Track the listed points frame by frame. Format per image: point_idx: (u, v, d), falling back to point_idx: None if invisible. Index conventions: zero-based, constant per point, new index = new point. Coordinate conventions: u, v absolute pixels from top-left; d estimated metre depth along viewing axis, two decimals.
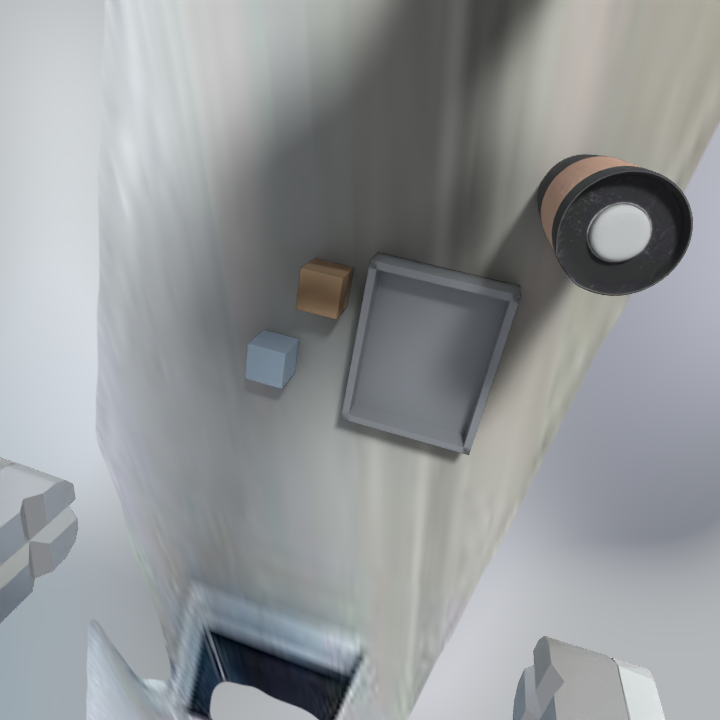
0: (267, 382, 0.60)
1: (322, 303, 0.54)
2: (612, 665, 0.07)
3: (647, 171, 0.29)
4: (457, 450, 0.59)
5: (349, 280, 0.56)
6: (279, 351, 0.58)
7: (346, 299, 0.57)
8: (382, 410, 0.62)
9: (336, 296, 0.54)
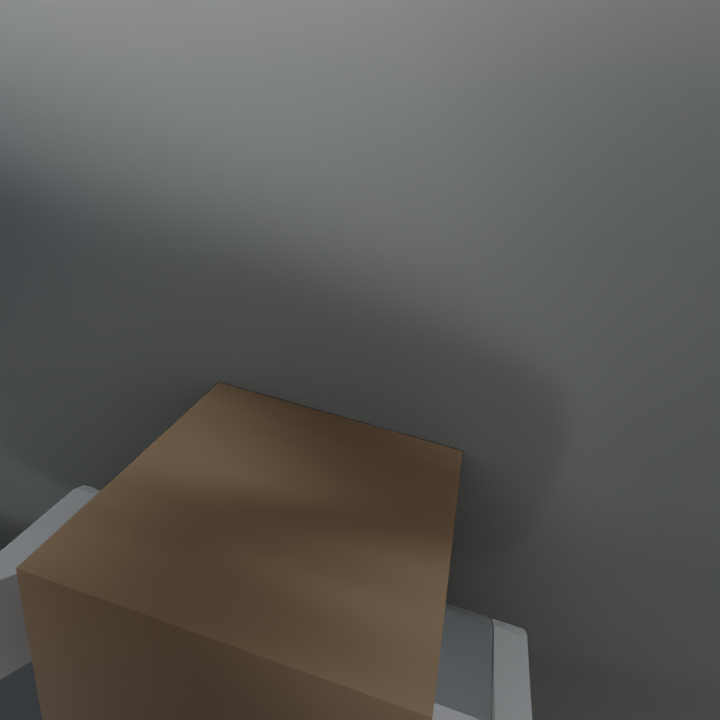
0: None
1: None
2: (488, 624, 0.08)
3: None
4: None
5: None
6: None
7: None
8: None
9: None
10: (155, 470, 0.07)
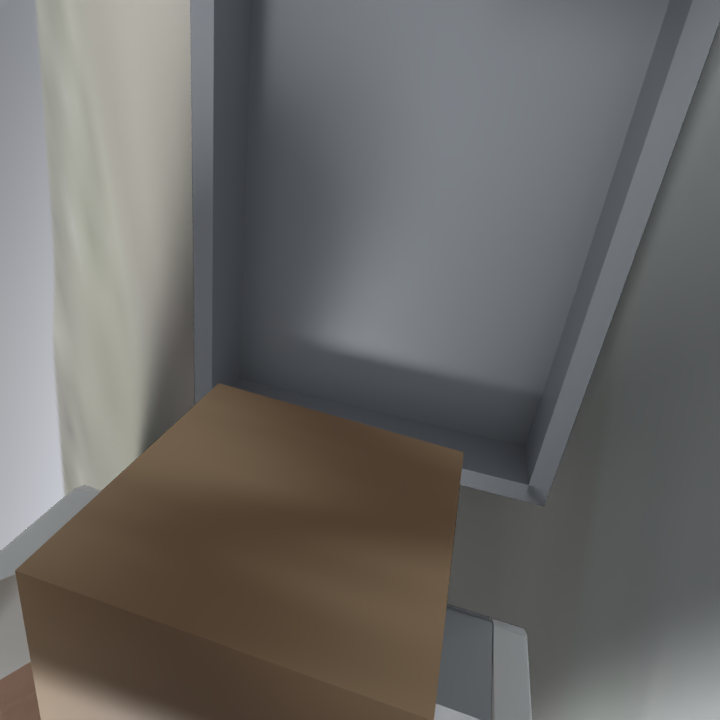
0: None
1: None
2: (488, 624, 0.08)
3: None
4: None
5: None
6: None
7: None
8: None
9: None
10: (154, 471, 0.07)
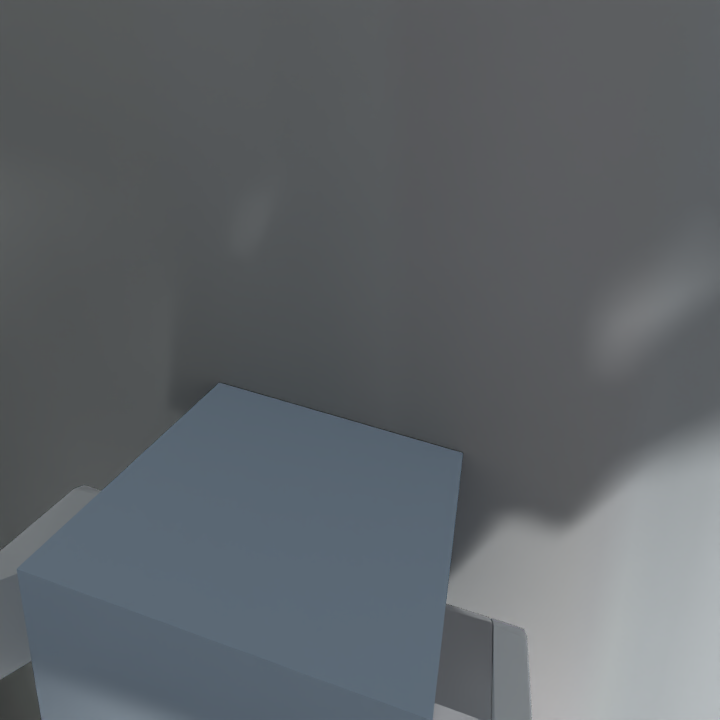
0: (164, 642, 0.05)
1: None
2: (488, 625, 0.08)
3: None
4: None
5: None
6: None
7: None
8: None
9: None
10: None
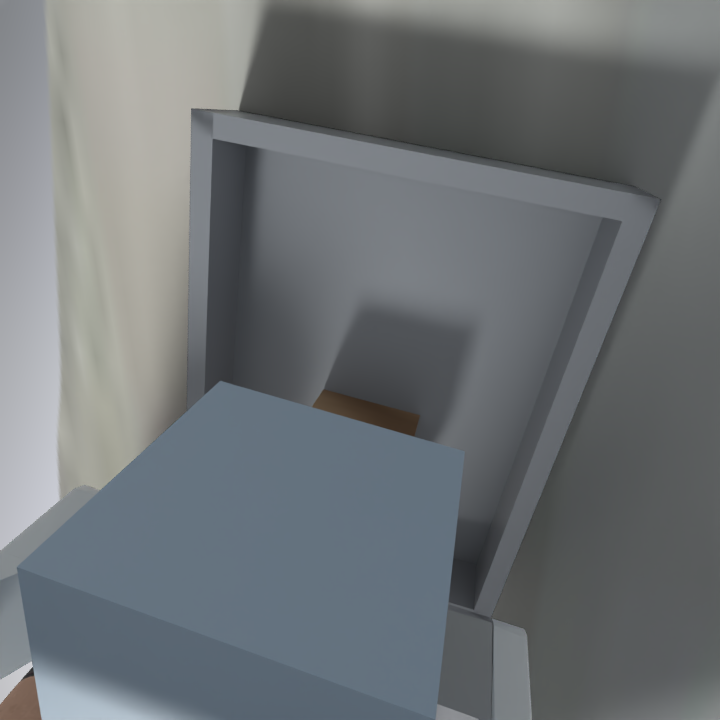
0: (165, 641, 0.05)
1: None
2: (488, 624, 0.08)
3: None
4: (228, 121, 0.17)
5: None
6: None
7: None
8: None
9: None
10: None
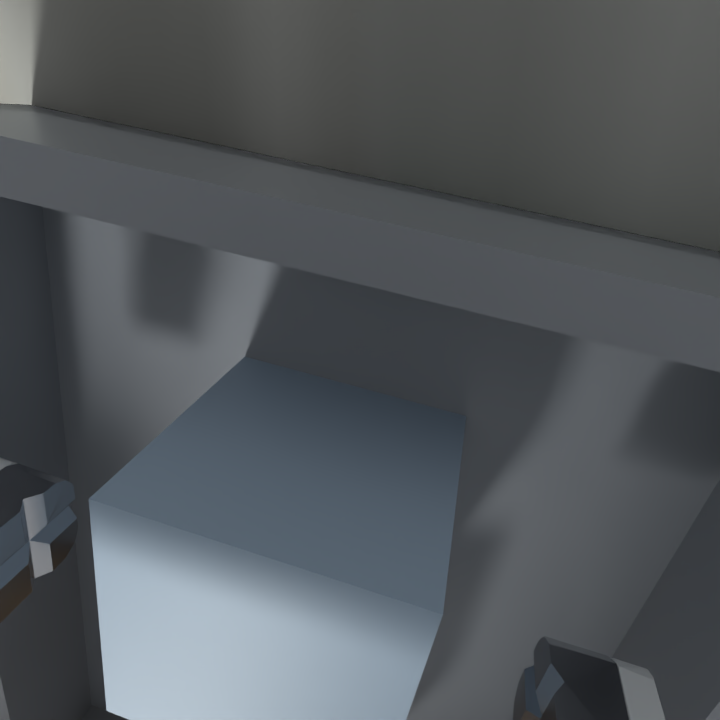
0: (214, 558, 0.06)
1: None
2: (613, 665, 0.07)
3: None
4: None
5: None
6: (156, 716, 0.09)
7: None
8: None
9: None
10: None
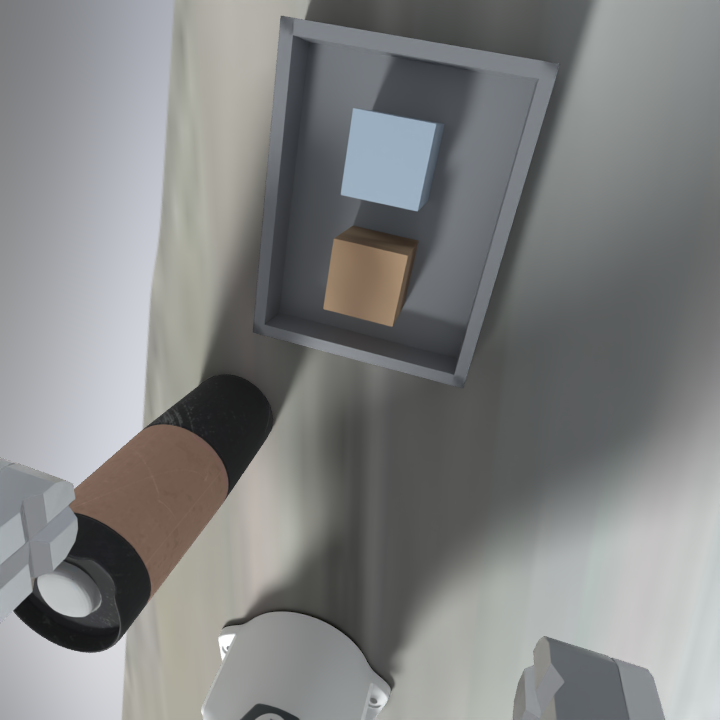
0: (383, 120, 0.28)
1: (347, 287, 0.32)
2: (612, 665, 0.07)
3: (64, 646, 0.28)
4: (303, 23, 0.28)
5: None
6: (354, 197, 0.30)
7: None
8: (473, 74, 0.30)
9: (360, 312, 0.32)
10: (348, 233, 0.33)
